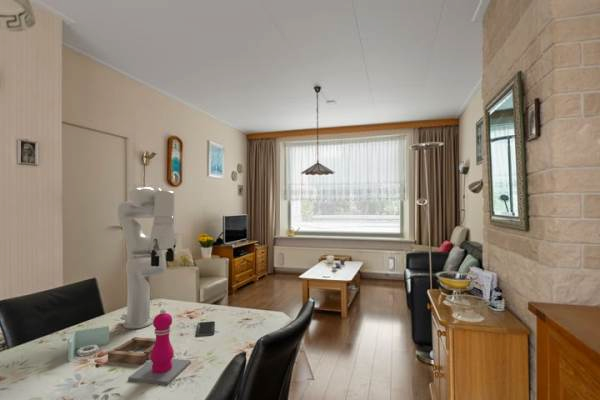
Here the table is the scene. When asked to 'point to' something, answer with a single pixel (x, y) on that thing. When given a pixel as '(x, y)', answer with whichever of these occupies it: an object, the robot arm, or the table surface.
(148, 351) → the collar
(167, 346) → the pepper mill
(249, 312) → the table surface
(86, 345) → the right angle wall
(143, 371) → the slate tile
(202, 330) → the phone
